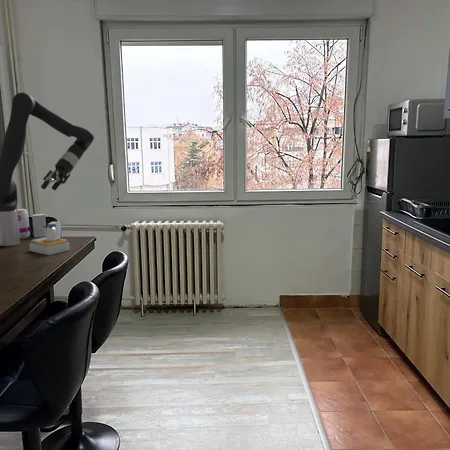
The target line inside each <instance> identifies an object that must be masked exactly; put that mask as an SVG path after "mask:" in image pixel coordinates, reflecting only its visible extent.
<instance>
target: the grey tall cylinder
mask: <svg viewBox="0 0 450 450" xmlns="http://www.w3.org/2000/svg"><path fill="white" fill-rule="evenodd" d="M46 238H47V243H53V242H57V235H56V227H52V225H49V227H48V226H47V227H46Z"/></svg>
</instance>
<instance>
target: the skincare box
mask: <svg viewBox="0 0 450 450" xmlns="http://www.w3.org/2000/svg"><path fill="white" fill-rule="evenodd" d="M31 218H32V228H33V229H32V230H33V237H34V239H38V238H44V237H46V228H47V223H46V214H45V213H40V214H39V213H37V214H32V215H31Z"/></svg>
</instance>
